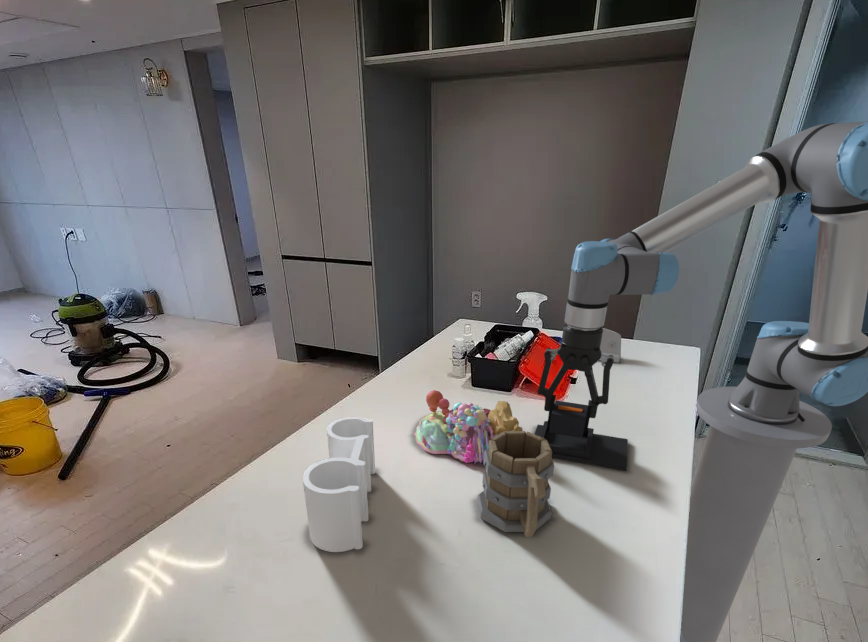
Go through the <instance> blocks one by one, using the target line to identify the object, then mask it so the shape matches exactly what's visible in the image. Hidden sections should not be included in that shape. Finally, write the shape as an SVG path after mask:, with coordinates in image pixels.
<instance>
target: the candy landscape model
mask: <svg viewBox="0 0 868 642" xmlns="http://www.w3.org/2000/svg"><path fill="white" fill-rule="evenodd" d="M425 401H426V404H427V406H428V407H429V411H430V412H431V413H429V414H427V415H425V416H424V417H422V419H420V420H419V423H418V425H416V427H415V431H414V437H415V443H416V445H418V446H419V447H420V448H421V449H422V450H423V451H424V452H426V453H429V454H433V455H440V454H441V455H445V454H447V455H450V456H452V457H453V458H454V459H457V460H459V461H461V462H464V463H466V464H468V463H473V462H474V464H476V463H478V462H479V464H481V463H483V464H482V465H483V466H485V465H484V455H485V451H486V450H488V448H489V440H490V439H492V438H493V437H495V436H497V435H498V434H500V433H502V432H505V431H523V427H521V426H519V425H520V422H519V420H518V419H517V417H515V416H514V415H513V412H512V408H511V405H510V403H509V402H508V401H505V400H498V401H497V403H496V405H495V408H493V409H488V408H482V407H481V406H479V405H478V404H474V403H472V402H469V403H462V402H456V403H455V404H454V405H453V406H452V409H449V408H450V401H449V400H448V399H447V398H444V395H443V393H442V392H440V391H439V390H435V389H433V390H430V391H429V392H428V393H427V394H426V397H425ZM438 408H439V409H440V410H441V411H440V410H439V411H437V410H438Z"/></svg>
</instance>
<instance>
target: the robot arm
mask: <svg viewBox="0 0 868 642" xmlns="http://www.w3.org/2000/svg"><path fill="white" fill-rule="evenodd" d="M796 193H797V194H798V193H807V194H811V198H810V212H809V213H810V214H812V215H813V216H814V217H816V218H817V219H818V230H817V239H816V250H815V259H814V269H813V280H812V290H811V299H810V309H809V318H808V319H809V320H808V322H804V321H795V320H794V321H793V320H773V321H769V322H766V323H765V324H763V325H762V326H761V329H760V331H759V333H758V335H757V337H756V341H755V344H754V347H753V350H752V352H751V356H750V359H749V363H748V366H747V369H746V373H745V375H744V377H743V379H742V380H741V381H740V383H739V384H738V385H737V386H736V387H737V388H736V389H735V390H734V392H733V393H732V394H731V396H730V397H729V400H728V404H727V405H728V407H729V409H730V410H731V411H733V412H734V413H736V414H737V415H739V416H741V417H744V418H746V419H749V420H752V421H755V422H759V423H764V424H772V425H786V424H791V423H794V422H795V421H796V420H797V418H799V419H800V420H801V421H802V422H804V421H805V419H804V418H803V417H802V416H801V414H800V413H799V411H800V406H799V400H800V392H801V393H803V394H804V395H806V396H808V397H810V398H811V399H812V400H813V401H815V402H820V403H822V404H824V405H825V406H830V407H842V406H845V405H849V404H852V403H853V402H856V401H858V400H859V399H861V398H862V397H864V396H865V395H866V394H867V393H868V336H867V334H865V333H863V332H862V329H863V324H864V317H865V311H866V303H867V298H868V297H867V296H868V120H866V121H851V122H839V123H837V122H832V123H830V122H829V123H822V124H818V125H814V126H811V127H808V128H806V129H803V130H802V131H798V132H797V133H795V134H793V135H791V136H789V137H786V138H784V139H783V140H781V141H779V142H777V143H776V144H773V145H772V146H769V147H768V148H766V149H764V150H763V151H761V152H759V153H757V154H756V155H754V156H752V157H750V158H749V159H748V161H746V164H745V166H744V167H742V168H741V169H740V170H738V171H736V172H734V173H732V174H730V175H729V176H727V177H725V178H723V179H721V180H719V181H718V182H716V183H714V184H713V185H711V186H709V187H707V188H706V189H704V190H702V191H700V192H698V193H696V194H695V195H693V196H691V197H690V198H688V199H686V200H684V201H682V202H681V203H679V204H677V205H675V206H674V207H672V208H670V209H668V210H667V211H665V212H663V213H661V214H659V215H658V216H655V217H653V218H652V219H650V220H649V221H647V222H644V223H643V224H641V225H640V226H638V227H636V228H635V229H632V230H631V231H629V232H627V233H625V234H623V235H621V236H619V237H618V238H604V239H601V240H600V241H598V240H587V241H582V242H580V243H579V244H578V245H577V246H576V247H575V250H574V254H573V259H572V263H571V266H570V270H571V272H570V278H569V279H570V280H569V288H568V296H567V301H566V307H565V314H564V324H563V329H562V336H561V342H560V345H559V347H558V348H551V347H547V348H546V349H545V351H544V354H543V356H544V357H543V358H544V366H543V369H542V372H541V377H540V381H539V385H538V389H537V395H539V396H544V398H545V400H544V407H543V410H544V411H545V412H548V416H547V421H548V423H547V426H548V427H550V421H551V414H552V411H553V408H554V405H555V401H556V397H557V395H556V394H555V392H556V391H557V390H558V389H557V388H558V387H559V385H560V384H561V382H562V380H563V379H564V377H565V375H567V373H568V371H578V372H584V377H585V379H586V383H587V388H588V392H589V395H590V399H589V400H588V403H587V405H588V409H587V414H586V415H587V416H586V421H585V427H584V433H587V430H588V428H589V424H590V419H596V417H597V412H598V408H599V405H607V404H608V403H609V396H610V393H609V392H610V380H611V379H610V378H611V369H612V367H613V365H614V363H615V362H614V356H613V355H609V356H607V355H604V354H601V350H600V345H601V339H602V334H603V327H604V326H605V322H606V318H607V317H606V316H607V311H608V305H609V302H610V301H609V300H610V296H625V295H629V296H631V295H636V296H639V295H640V296H641V295H650V296H653V295H660V294H661V295H662V294H668V293H669V292H671V291H673V289H674V288H675V287H676V285H677V282H678V280H679V275H680V261H679V259H678V257H677V256H676V255H675V254H673V253H671V252H670V251H671V250H672V251H673V250H675V248H678V247H679V246H682V245H683V244H684V243H686V242H688V241H691V240H693V239H694V238H696V237H698V236H699V235H702V234H703V233H705V232H707V231H709V230H711V229H712V228H714V227H716V226H718V225H720V224H722V223H724V222H726V221H727V220H729V219H731V218H733V217H735V216H737V215H739V214H740V213H742V212H744V211H746V210H748V209H749V208H752V207H753V206H755V205H757V204H759V203H760V202H762V203H765V204H769V203H771V202H774V201H775V200H777V199H779V198H782V197H784V196H787V195H791V194H796ZM557 356H558V357H559V359H560V361H561V362H562V365H561V367H560V368H559V370H558V372H557V373H556V375H555V377H554V378H553V380H552V382H551V384H550V386H549V387H548V388H547V383H548V378H549V374H550V370H551V367H552V364H553V363H552V362H553V361H554V360H555V359H556V357H557ZM600 360H601V361H600ZM598 361H600V362H601V363H600V364H601V367H603V370H602V371H603V373H602V389H601V390H602V391H601V395H599V393H598V392H599V391H598V387H597V384H596V378H595V374H594V369H593V366H594V365H595V364H597V362H598Z"/></svg>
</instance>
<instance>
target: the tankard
mask: <svg viewBox="0 0 868 642" xmlns="http://www.w3.org/2000/svg"><path fill="white" fill-rule="evenodd" d="M552 458H553V457H552V450H551V448H550V446H549V443H548V441H547V440H546V439H545V438H542V437H540V436H537V435H535V433H534V432H533V433H532V432H530V431H526V430H522V431H505V432H502V433H500V434H498V435H497V436H495V437H493V438H492V439H490V440H489V448H488V450H486V451H485V455H484V465H483V466H484V468H485V471H486V472H484V473H483V474H482V488H483V491H480V492H479V493H478V494H477V504H478V505H477V506H478V511H479V517H480V519H481V520H483V521H484V522H486V523H488V524H490V525H492V526H493V527H495V528H497V529H499V530H500V531H502V532H504V533H523V535H524V537H526V538H533V537H534V535H535V533H536V531H538V529H540V528H541V527H542V526H543V525H544V524H545V523H546V522H547V521H549V520H550V519H551V518H552V513H553V512H552V509H551V505H550V503H549V501H548V500H550V498H551V490H552V488H551V485H550V482H549V479H551V478H552V477H553V476H554V472H555V464H554V460H553V459H552Z"/></svg>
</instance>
